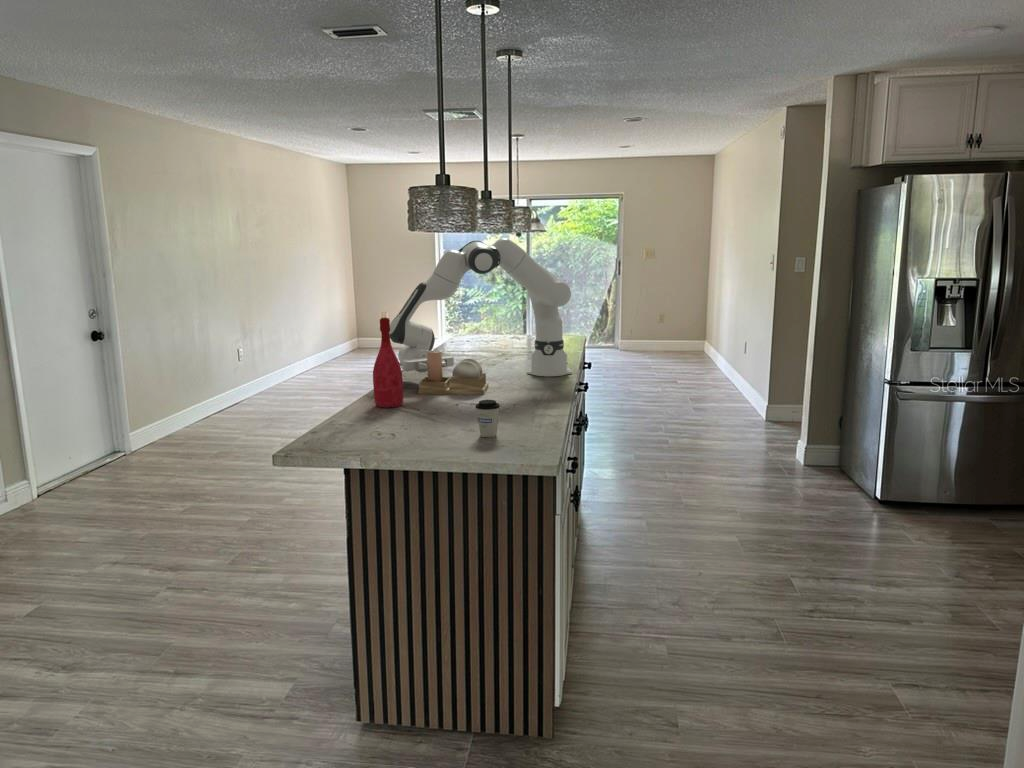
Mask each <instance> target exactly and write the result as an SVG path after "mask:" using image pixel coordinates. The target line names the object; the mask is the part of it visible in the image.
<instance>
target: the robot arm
mask: <svg viewBox="0 0 1024 768" xmlns="http://www.w3.org/2000/svg"><path fill="white" fill-rule="evenodd" d="M497 267H500V268H501V269H502V270H503V271H504V272H505V273H506V274H507V275H508V276H510V277H511V278H512V279H513V280H514V281H515V282H516V283H517V284H519V285H520V286H521V287H523V288H524V289H526V290H527V294H528V295H527V296H528V297H529V299H530V301H531V305H532V311H533V315H534V322H535V340H534V344H533V345H534V351H533V352H532V353H531V356H530V359H531V361H530V369H528V370H526V374H527V375H533V376H537V377H561V376H566V375H572V374H573V371H572V370H571V369H570V368H569V367H568V364H569V363H568V353H566V352H565V350H564V349H565V348H564V347H565V346H564V345H565V343H564V339H563V338H564V337H563V319H562V317H561V316H560V313H559V308H560V307H563V306H566V305H567V304H568V302H569V301H570V300H571V296H572V291H571V288H570V287H569V285H568V284H567V283H565V281H562V280H560V279H559V278H558V277H557V276H555V275H554V274H553V273H552V272H551V271H549V270H547V269H546V268H544V267H543V266H541V265H540V264H539V263H538V262H537V261H536V260H535V259H534V258H533V257H531V256H530V255H529V253H527V251H525V250H524V249H523V248H522V247H521V246H520V245H518V244H517V243H516V242H514V241H513V240H510V239H509V238H507V237H501V238H499V239H497V240H496V241H495V242H494V243H493V244H491V245H488V244H486V243H485V242H482V241H480V240H472V241H471V240H470V242H467V243H466V244H465V245H464V246H463V247H461V248H459V249H458V250H456V249H449V250H446V251H445V252H444V253H443V255H442V256H441V258H440V259H439V261H438V263H437V265H436V266H435V269H434V270H433V272H432V274H431V276H430V277H429V278H428V279H427V280H425V281H424V282H420V283H419V284H418V285H417V286H416V287H415V288H414V290H413V291H412V293H411V294H410V295H409V298H407V300H406V302H405V303H404V305H403V306H402V308H401V309H400V310H399V312H398V313H397V314H396V316H395V317H394V318H393V320H392V321H390V331H389V335H390V341H392V343H395V344H399V345H404V346H403V347H401V348H400V349H399V350H398V352H397V359H398V361H399V364H400V366H401V370H402V371H404V372H411V371H415V372H417V373H421V374H422V373H428V371H427V369H429V364H427V352H430V351H433V347H434V345H435V341H436V337H435V333H434V331H433V328H432V327H428V326H426V325H424V324H420V323H417V322H414V321H411V318H412V317H413V316H414V314H415V313H416V311H417V310H418V308H419V307H420V306H421V305H422V304H423V303H425V302H428V301H444V300H447V299H450V298H452V297H453V296H454V295H455V294H456V292H457V290H458V288H459V286H460V284H461V282H462V279H463V277H464V275H466V273H467V272H468V271H472V272H474V273H475V274H478V275H485V274H489V273H490V272H491V271H493V270H494V269H496V268H497ZM439 351H440V352H442V368H447V367H449V368H450V367H453V366H454V364H455V359H454V356H453V355H451V354H449V353H444V352H443V351H442V350H439Z"/></svg>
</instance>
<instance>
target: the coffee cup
mask: <svg viewBox="0 0 1024 768" xmlns="http://www.w3.org/2000/svg"><path fill="white" fill-rule="evenodd" d="M500 407H501V405H500V404H499V403H498V402H497V401H496V400H494V399H482V400H479V401H478V403H476V405H475V409H476V414H477V415H476V416H477V423H478V429H479V435H480V437H481V436H482V437H481V438H483V437H493V438H495V436H496V437H497V435H498V424H499V423H498V422H499V412H500Z"/></svg>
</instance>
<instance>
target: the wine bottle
mask: <svg viewBox="0 0 1024 768" xmlns="http://www.w3.org/2000/svg"><path fill="white" fill-rule="evenodd" d="M390 324H391V321H390V317H381V318H380V319H379V331H380V333H381V337H380V338H381V340H380V347H379V351H378V354H377V356H376V359H375V362H374V364H373V365H374V366H373V369H372V370H373V371H372V386H373V396H374V398H373V399H374V404H375V406H376V407H378V408H381V407H384V408H383V409H391V408H390V407H392V408H397V406H398V407H400V406H402V405H403V403H404V388H403V387H404V383H403V381H404V380H403V369H402V368H401V366H400V364H399V363H400V361H399V358H398V356H397V355H396V352H395V351H394V349H393V346H392V343H391V339H390V335H389V331H390Z"/></svg>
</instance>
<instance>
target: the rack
mask: <svg viewBox="0 0 1024 768" xmlns="http://www.w3.org/2000/svg"><path fill="white" fill-rule="evenodd" d="M451 375H452V376H450V377H447V376H446V377H445V376H443V382H428V376H425V377H424V378H423V379H421V380H420V381H419V382H418V385H419V389H418V395H484V394H485V393H486V391H488V389H489V383H488V382H487V373H485V372H484V373H483V367H482V365H481V364H480V363H479V362H478V361H477V360H476V359H474V358H471V357H469V358H468V357H467V358H464V359H462V360H461V361H459V362H458V363H457V364H456V365H455V366H454V368H453V371H452V374H451Z"/></svg>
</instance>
